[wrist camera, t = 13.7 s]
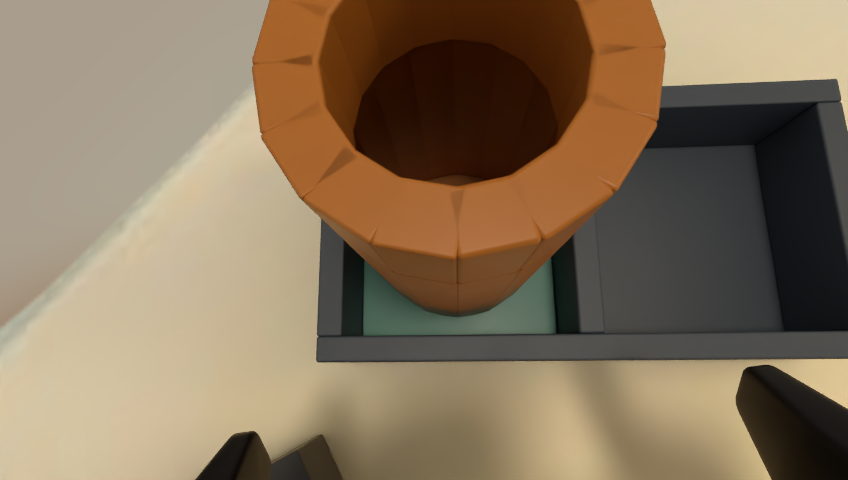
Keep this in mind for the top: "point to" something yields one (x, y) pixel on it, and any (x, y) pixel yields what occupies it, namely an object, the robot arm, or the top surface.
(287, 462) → the dial panel
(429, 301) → the amber jar
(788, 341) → the dark grey divided tray
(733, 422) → the top surface
